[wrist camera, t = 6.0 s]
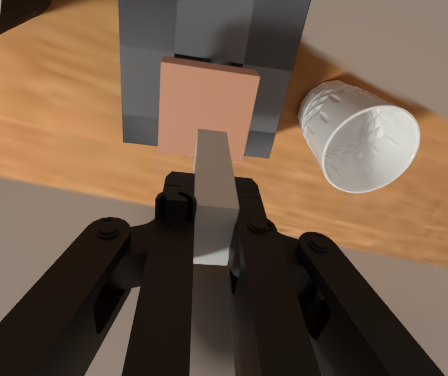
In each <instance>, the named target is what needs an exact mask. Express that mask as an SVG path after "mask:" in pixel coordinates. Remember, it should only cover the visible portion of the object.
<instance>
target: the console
mask: <svg viewBox="0 0 448 376" xmlns="http://www.w3.org/2000/svg"><path fill="white" fill-rule="evenodd" d="M310 2H311V0H118V5H119V34H120V64H121V93H122V122H123V142H125V143H134V144H143V145H152V146H158V129H159V100H160V72H161V61H162V59H163V57H164V56H167V57H174V58H181V59H187V60H194V61H200V62H207V63H214V64H220V65H227V66H233V67H240V68H247V69H253V70H256V71H257V73H258V74H259V76H260V80H259V85H258V90H257V94H256V99H255V104H254V109H253V113H252V118H251V123H250V127H249V132H248V137H247V142H246V146H245V151H244V156H251V157H260V158H269V157H270V153H271V149H272V145H273V141H274V138H275V134H276V130H277V126H278V123H279V119H280V115H281V111H282V108H283V104H284V100H285V96H286V92H287V89H288V85H289V81H290V77H291V74H292V70H293V66H294V62H295V58H296V55H297V51H298V47H299V43H300V40H301V36H302V32H303V28H304V25H305V21H306V17H307V13H308V9H309V6H310Z"/></svg>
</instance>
